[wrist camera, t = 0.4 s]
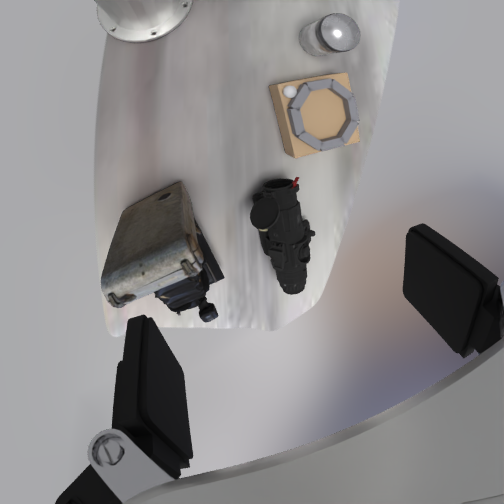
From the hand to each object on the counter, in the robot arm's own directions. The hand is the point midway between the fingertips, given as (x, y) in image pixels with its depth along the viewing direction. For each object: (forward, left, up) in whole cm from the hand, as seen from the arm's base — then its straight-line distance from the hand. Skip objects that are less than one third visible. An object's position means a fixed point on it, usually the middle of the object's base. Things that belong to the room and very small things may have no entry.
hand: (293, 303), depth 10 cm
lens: (-11, +19, -34) cm, 41 cm away
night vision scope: (+15, +7, -35) cm, 38 cm away
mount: (-1, +15, -34) cm, 38 cm away
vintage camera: (+11, -8, -35) cm, 37 cm away
